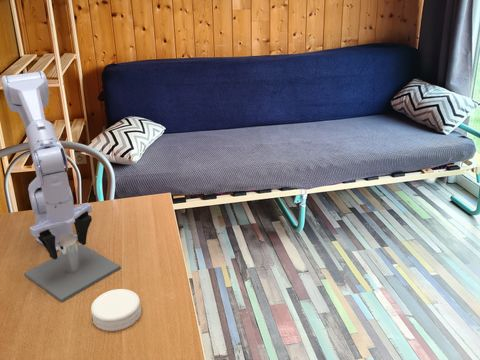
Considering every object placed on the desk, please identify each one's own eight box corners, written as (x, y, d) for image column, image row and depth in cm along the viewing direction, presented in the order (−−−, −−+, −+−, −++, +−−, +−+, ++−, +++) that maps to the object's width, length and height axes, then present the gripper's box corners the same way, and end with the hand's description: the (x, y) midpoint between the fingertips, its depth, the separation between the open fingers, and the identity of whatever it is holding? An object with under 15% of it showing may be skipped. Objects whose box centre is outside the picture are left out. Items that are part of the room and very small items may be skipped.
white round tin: (121, 294, 113) (119, 282, 111) (151, 313, 107) (149, 299, 105) (83, 318, 106) (80, 305, 104) (112, 339, 100) (110, 325, 98)
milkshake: (82, 274, 118) (74, 238, 114) (59, 274, 119) (51, 238, 114) (88, 263, 122) (81, 228, 118) (67, 263, 123) (59, 227, 118)
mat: (24, 275, 120) (23, 272, 120) (82, 246, 131) (81, 244, 131) (61, 302, 111) (61, 299, 110) (120, 268, 121) (120, 266, 121)
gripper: (37, 216, 105) (49, 270, 111) (95, 191, 115) (104, 242, 121) (20, 207, 109) (33, 259, 115) (78, 183, 119) (87, 233, 125)
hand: (68, 250), depth 118 cm, fingers open, 7 cm apart
